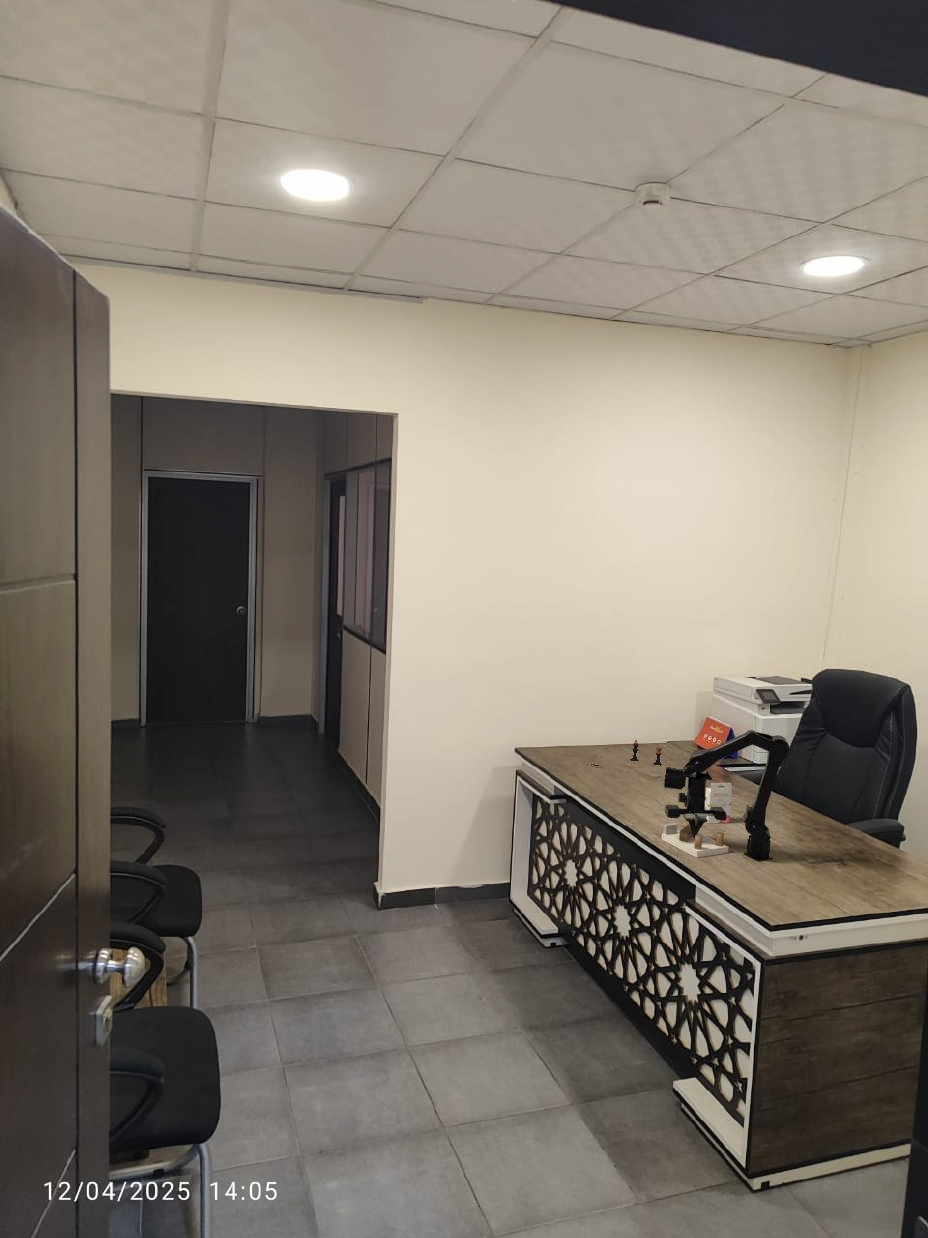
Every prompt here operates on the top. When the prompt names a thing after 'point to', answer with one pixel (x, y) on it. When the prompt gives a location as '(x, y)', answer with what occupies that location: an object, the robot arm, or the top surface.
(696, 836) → the white peg board
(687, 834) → the hinged leg
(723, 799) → the ink cartridge box
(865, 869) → the top surface
